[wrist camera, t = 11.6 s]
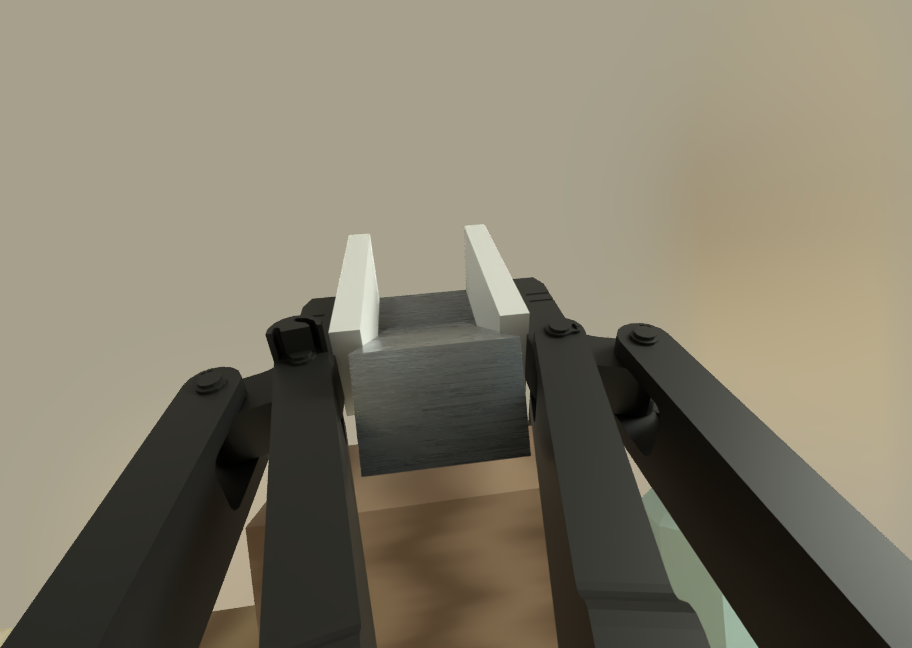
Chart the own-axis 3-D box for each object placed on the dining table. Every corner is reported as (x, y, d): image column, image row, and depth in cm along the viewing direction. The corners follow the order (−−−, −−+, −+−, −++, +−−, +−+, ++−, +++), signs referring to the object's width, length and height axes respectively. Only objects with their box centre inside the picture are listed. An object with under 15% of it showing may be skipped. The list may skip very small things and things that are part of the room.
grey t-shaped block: (246, 491, 9) (223, 289, 9) (365, 364, 30) (359, 303, 30) (635, 442, 10) (619, 254, 10) (486, 352, 31) (480, 292, 30)
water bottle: (631, 747, 39) (605, 457, 38) (710, 695, 43) (688, 432, 42) (750, 876, 30) (719, 498, 29) (835, 793, 34) (811, 461, 33)
